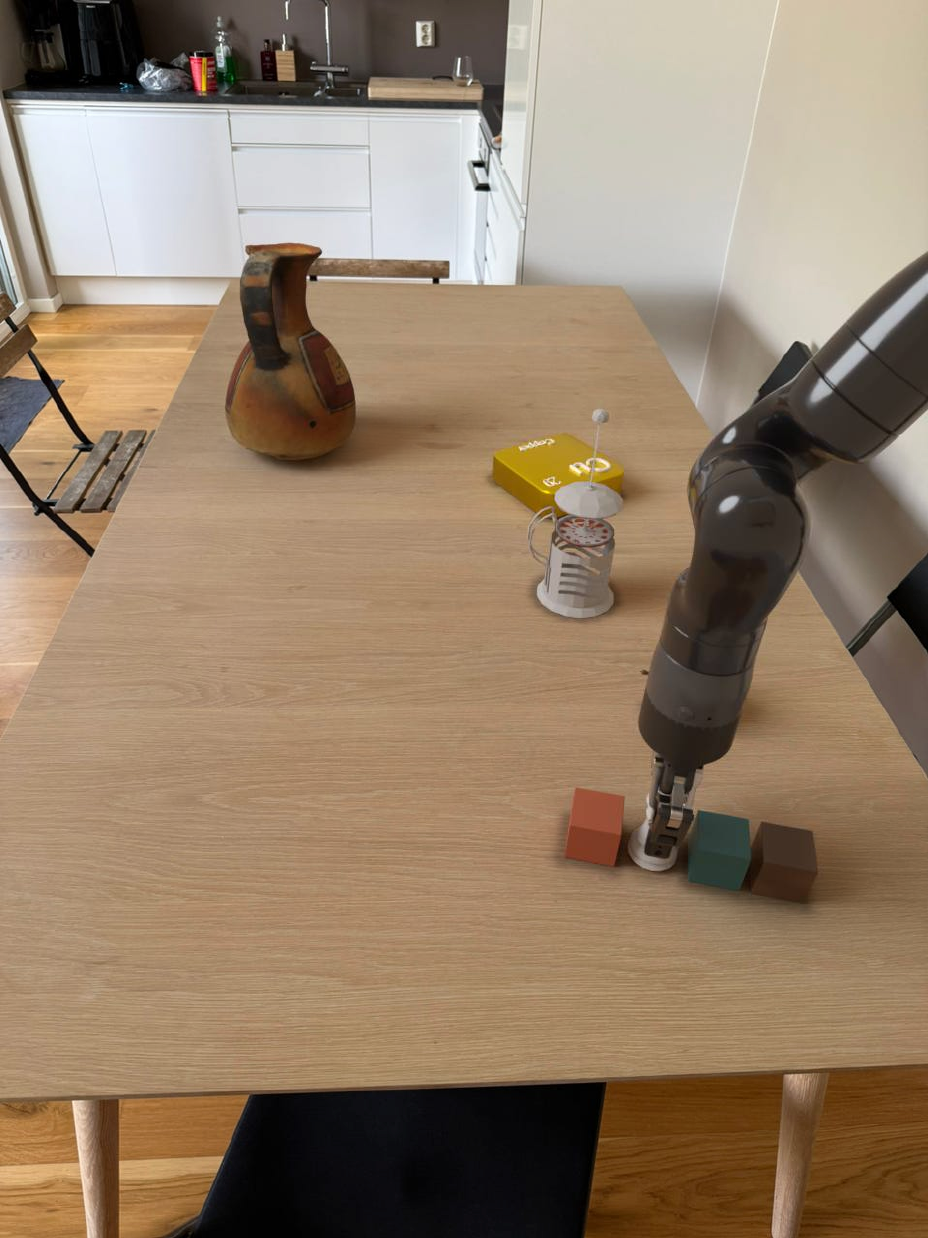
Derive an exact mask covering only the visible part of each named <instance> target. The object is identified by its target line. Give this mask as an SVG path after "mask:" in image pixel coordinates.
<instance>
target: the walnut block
mask: <svg viewBox="0 0 928 1238" xmlns="http://www.w3.org/2000/svg"><path fill="white" fill-rule="evenodd" d="M750 846H751V862H750V864H749V876H750V877H749V879H750V893H751V894H752V895H756V896H763V897H768V898H772V899H776V900H777V899H778V900H783V901H788V902H793V903H799V904H805V901H806V900H807V897H808V895H809V893H810V891H811V889H812V887H813V885H814V883H815V880H816V879H817V876H818V873H819V867H818V859H817V851H816V845H815V836H814V831H813V830H810V829H805V828H799V827H793V826H788V825H783V824H779V823H772V822H767V821H760V823H759V825H758V828H757V831H756V833H755V836H754V839H753V841H752V843H751V845H750Z"/></svg>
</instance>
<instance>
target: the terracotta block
mask: <svg viewBox="0 0 928 1238" xmlns="http://www.w3.org/2000/svg"><path fill="white" fill-rule="evenodd" d="M572 798H573V799H572V804H571V805H572V806H571V810H570V815H569V816H570V817H569V822H568V828H567V829H568V830H567V835H566V841H565V849H564V858H568V859H572V860H577V861H582V862H588V863H593V864H598V865H603V866H609V867H613V868H614V867H615V865H616V861H617V856H618V852H619V847H620V843H621V839H622V835H623V834H622V833H623V823H624V810H625V798H626V797H625V795H619V794H614V793H609V792H603V791H599V790H592V789H587V788H582V787H575V788H574V793H573V797H572Z"/></svg>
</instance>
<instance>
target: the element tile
mask: <svg viewBox="0 0 928 1238" xmlns="http://www.w3.org/2000/svg"><path fill="white" fill-rule="evenodd" d="M594 452H595V447H592V446H591V445H589V444H588V443H586V442H585V441H583V440H581V439H579V438H578V437H577V436H575V435H573V434H571V433H568V432H560V433H556V434H555V433H554V434H552V435H548V436H544V437H541V438H537V439H534V440H530V441H526V442H523V443H519V444H515V445H512V446H508V447H504V448H502V449H498V450H496V451H495V452H494V453H493V459H492V471H491V472H492V473H491V478H492V481H494V483H496V484H497V485H499V486H500V487H501V488H502V489H504V490H505V491H506V492H507V493H509V494H510V495H511V496H513V497H514V498H515V499H517V500H518V501H519V502H521V503H522V504H523V505H524V506H526V507H527V508H529V509H530V510H532V511H533V512H534V513H535V514H537V513H538V512H539V511H541V510H542V509H545V508H547V507H550V506H551V507H554V508H555V513H554V514H556V515H557V519H558V518H562V517H565V516H568V514H567V513H566V512H564V511H562V510H561V509H560V508H559V507H558V505H557V504H556V502H555V493H556V492H557V491H558V490H559V489H560V488H561V487H564V486H566V485H569V484H572V483H574V482H585V481H590V480H591V473H592V466H593V459H594ZM624 476H625V468H624V467H623V466H622V465H621V464H620V463H618V462H616V461H615V460H613V459H612V458H609V457H608V456H607V455H605V454H603V453H602V452H600V451H598V450H596V457H595V464H594V471H593V478H592V482H595V483H599V484H603V485H605V486H607V487H608V488H610V489H611V490H613V491H615V492H616V493H618V494H619V495H620V496H621V494H622V489H623V488H622V487H623V481H624ZM549 514H552V508H549V509H547V510H545V511H543V512H542V513H540V514H539V515H538V516H539V517H542V518H543V517H545V516H547V515H549ZM554 517H555V516H554ZM546 519H553V518H552V516H550V517H547V518H546Z"/></svg>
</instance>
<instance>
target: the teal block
mask: <svg viewBox="0 0 928 1238" xmlns="http://www.w3.org/2000/svg"><path fill="white" fill-rule="evenodd" d="M751 846H752V845H751V830H750V819H749V818H745V817H739V816H734V815H728V814H722V813H717V812H713V811H707V810H702V809H701V810H700V809H697V811H696V815H695V817H694V821H693V825H692V827H691V831H690V833H689V838H688V841H687V882H691V883H696V884H701V885H706V886H711V887H716V888H722V889H727V890H730V891H731V890H732V891H737V892H739V891H740V890H741V887H742V885H743V882H744V880H745V877H746V874H747V872H748V869H749V868H750V862H751Z"/></svg>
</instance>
